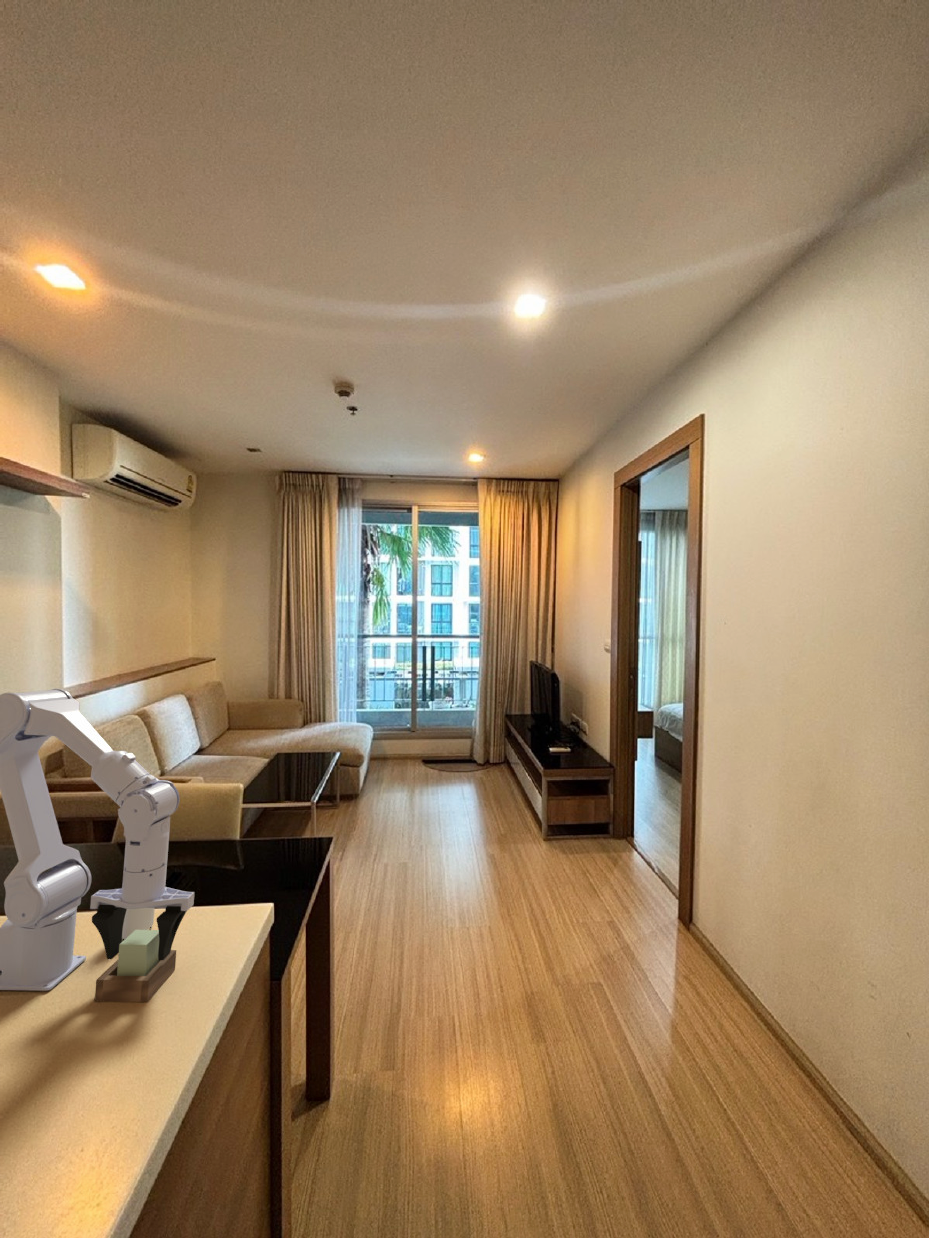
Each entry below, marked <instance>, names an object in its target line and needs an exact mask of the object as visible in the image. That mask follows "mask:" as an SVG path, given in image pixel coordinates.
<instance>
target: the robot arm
mask: <svg viewBox="0 0 929 1238" xmlns="http://www.w3.org/2000/svg"><path fill="white" fill-rule="evenodd" d="M80 709H81V705H80V702H79V701H78V699H77V700H76V699H75V698H73V696H72V695H71V693H70V692H69V691H67V690H65V689H62V688H51V689H49V690H36V691H26V692H11V691H10V692H4V693H0V795H1V799H2V802H3V806H4V809H5V813H6V814H5V815H6V817H7V820H8V821H7V822H8V826H9V829H10V831H11V836H12V840H13V844H14V847H15V850H16V851H15V852H16V855H17V859H18V861H17V863H16V864H15V866H14V868H13V869H12V870H11V872H10V873H9V874H8V876H7V877H6V878H5V880H4V882H3V885H4V889H5V898H4V906H3V908H4V913H5V916H6V918H7V919H6V920H5V921H4V922H3V923H2V924H1V926H0V991H40V992H43V991H45V992H46V991H50V990H52V989H54V987H56V986H57V985H58V984H59V983H60V982H61V981H63V980H64V979H65V978H66V977H67V976H68V975H69V974H70V973H72V972H73V971H74V970H75V969H76V968H77V967H79V966H80V965H81V964H82V963H83V962H85V961H86V960H87V956H86V955H74V948H75V939H76V938H75V937H76V936H75V935H76V925H77V924H76V923H77V912H78V910H77V909H78V906H80V905H81V903H82V897H84V896H85V895H86V894H87V892H88V891H89V890H90V888H91V884H92V874H91V871H90V869H89V867H88V865H86V863H84V861H83V860H82V857H81V854H80V851H79V850H78V849H76V848H75V847H74V848H73V847H71V846H68V845H65V844H64V843H63V840H62V836H61V832H60V829H59V824H58V821H57V818H56V814H55V811H54V807H53V806H54V805H53V803H52V800H51V796H50V793H49V788H48V784H47V780H46V778H45V774H44V769H43V767H42V763H41V759H40V755H39V751H40V749H42V746H43V745H44V743H46V741H48V740H49V739H50V738H51V737H55V738H57V739H58V740H59V741H60V742H62V744H64V745H65V746H66V747H68V748H69V749H70V750H71V751H72V752H74V753H75V754H76V755H77V756H79V757H80V758H81V759H82V760H84V761H85V762H86V763H87V764H88V765H89V766H91V772H90V778H91V780H92V781H93V782H94V783H95V784H96V785H97V786H98V787H99V788H100V789H101V790H102V791H103V792H104V793H105V794H106V795H108V797H109V798H110V799H111V800H112V801H113V802H114V803H116V804H117V805H118V806H119V808H118V809H117V815H118V819H119V821H120V823H121V824H122V826H123V837H125V848H124V860H123V861H124V862H123V873H122V874H123V875H122V884H121V885H122V887H121V888H114V889H99V890H98V891H96V892H95V893H94V894H92V895H91V896H90V904H89V906H90V907H89V909H90V910H96V913H94V914H93V915H92V916H91V923H92V924H93V925H94V926H95V928H96V930H97V931H98V933H99V935H100V937H101V941H102V943H103V946H104V949H105V954H106V955H105V956H106V959H107V960H112V959H113V958H115V957H116V956H118V955H119V944H120V943H122V942H123V939H122V931H123V923H124V918H125V914H126V910H127V909H141V908H155V909H164V910H165V911H163V912H162V913H161V914H159V916H157V918H156V923H157V927H158V928H157V930H159V949H158V959H159V960H164V959H165V958H166V957H167V956H168V955H169V954H170V951H171V950H172V947H173V943H174V940H175V937H176V934H177V932H178V929H179V927H180V924H181V922H182V921H183V919H184V917H185V915H186V914H187V912H188V911H189V910H190V909H191V908H192V907H193V906H194V903H195V901H194V900H195V891H185V890H180V889H175V888H171V887H167V886H166V885H167V884H166V882H167V881H166V880H167V870H168V869H167V867H168V856H169V855H168V854H169V853H168V852H169V841H170V827H171V815H173V814H174V813H175V812H176V811H177V809H178V808H179V805H180V801H181V800H180V799H181V798H180V792H179V789H178V788H177V787H176V785H174V783H173V781H170V780H167V779H160V778H159V779H158V777H155V776H154V775H153V774H151V773H149V772H148V771H147V770H146V769H145V767H143V766H142V765H141V764H140V763H139V762H138V761H137V760H136V759H137V756H136V755H135V754H134V753H132V752H128V751H126V750H113V748H112V747H111V746H110V745H109V744H108V743H107V741H106V740H105V739H104V738H103V737H102V736H101V735H100V734H99V732H98V731H97V730H96V729H95V728H94V727H93V725H92V724H91V723H90V722H89V721H88V720H87V719H86V717H84V716H83V714H82V713H81V711H80ZM49 869H50V870H49ZM47 870H48V871H47ZM45 871H46V872H45ZM43 872H44V873H43Z"/></svg>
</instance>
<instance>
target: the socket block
mask: <svg viewBox="0 0 929 1238" xmlns="http://www.w3.org/2000/svg"><path fill="white" fill-rule="evenodd" d="M176 958H177V950H175V949H171V951H170V954H169V955H168V956H167V957H166V958H165V959H164V960H159V963H158V964H157V965H156V966H155V967H154V968H153V969H152V970H151V971H150V972H149V974H148V975H147V976H117V969H118V959H116V960H115V962H113V964H111V965H110V966H109V967H108V968H107V969H106V970H105V971H104V972H103V973H102V974H101V975H100V976H99V977H98V978H97V979H96V980H95V981H96V982H95V992H94V1002H103V1003H104V1002H105V1003H106V1002H111V1003H113V1002H115V1003H116V1002H117V1003H119V1002H121V1003H122V1002H123V1003H125V1002H126V1003H149V1001H150V1000H151V999H152V997H153V996H154V995H155V994H156V992H158V990H160V988H161V987H162V986H163V984H164V983H165V982H166V981H167V980H168V978H170V976H171V975H172V974H173V973H174V971H175V970H176V963H177V962H176V961H177V959H176Z"/></svg>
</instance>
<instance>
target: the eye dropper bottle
mask: <svg viewBox="0 0 929 1238" xmlns="http://www.w3.org/2000/svg"><path fill="white" fill-rule="evenodd" d="M155 909H156V908H141V909H127V910H126V914H125V918H124V923H123V931H122V940H123V939H124V940H125V939H126V938H127V937H128V936H129V935H130V934H131V933H133V932H134V931H135V930H148V929H149V928H150V927H151V928H152V927H153V926H154V923H155V921H154V920H155ZM152 925H153V926H152ZM151 928H150V929H151ZM150 929H149V930H150ZM124 940H123V941H124Z"/></svg>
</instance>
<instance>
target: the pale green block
mask: <svg viewBox="0 0 929 1238" xmlns="http://www.w3.org/2000/svg"><path fill="white" fill-rule="evenodd" d="M158 949H159V930H158V929H149V930H135V931H134V932H133V933H131V934H130V935H129V936H128V937H127V938H126V939H125V940H122V943H120V944H119V953H118V955H117V956H118V957H117V960H118V969H117V976H147V975H148V974H149V972H150V971H151V970H152V969H153V968H154V967H155V966H156V965H157V964H158V963H159V959H158Z"/></svg>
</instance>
